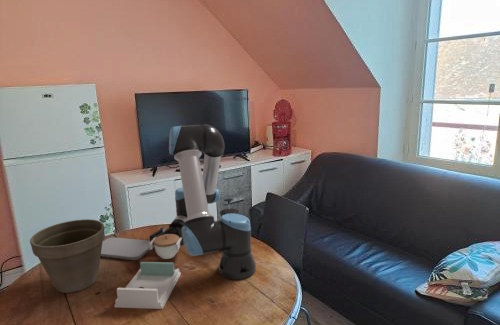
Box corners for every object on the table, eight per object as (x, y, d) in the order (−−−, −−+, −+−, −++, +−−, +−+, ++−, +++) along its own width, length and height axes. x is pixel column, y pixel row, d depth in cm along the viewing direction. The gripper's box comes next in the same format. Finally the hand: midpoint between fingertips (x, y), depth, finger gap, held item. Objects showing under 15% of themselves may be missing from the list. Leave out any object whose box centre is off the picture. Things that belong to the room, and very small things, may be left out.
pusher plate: (142, 273, 136) (141, 261, 135) (174, 273, 135) (173, 262, 134) (141, 274, 135) (140, 263, 134) (173, 275, 134) (173, 263, 133)
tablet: (110, 241, 170) (109, 236, 169) (156, 245, 164) (156, 241, 163) (87, 256, 155) (86, 252, 154) (138, 262, 148) (137, 257, 148)
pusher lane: (140, 273, 138) (138, 257, 137) (180, 274, 137) (179, 258, 135) (114, 307, 117) (112, 289, 116) (162, 309, 116) (160, 290, 114)
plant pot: (23, 302, 121) (13, 246, 116) (61, 266, 145) (54, 219, 140) (93, 301, 121) (85, 245, 116) (119, 265, 145) (114, 218, 140)
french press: (243, 241, 165) (241, 196, 160) (239, 250, 156) (238, 203, 151) (219, 240, 167) (217, 195, 162) (214, 249, 158) (212, 202, 153)
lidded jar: (174, 262, 141) (172, 241, 139) (150, 260, 143) (148, 240, 141) (184, 250, 151) (182, 231, 149) (161, 249, 153) (160, 229, 151)
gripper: (202, 233, 163) (191, 255, 141) (156, 233, 165) (137, 254, 143) (202, 218, 161) (190, 239, 140) (154, 218, 163) (135, 238, 142)
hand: (163, 247), depth 142 cm, fingers closed on lidded jar, 11 cm apart
